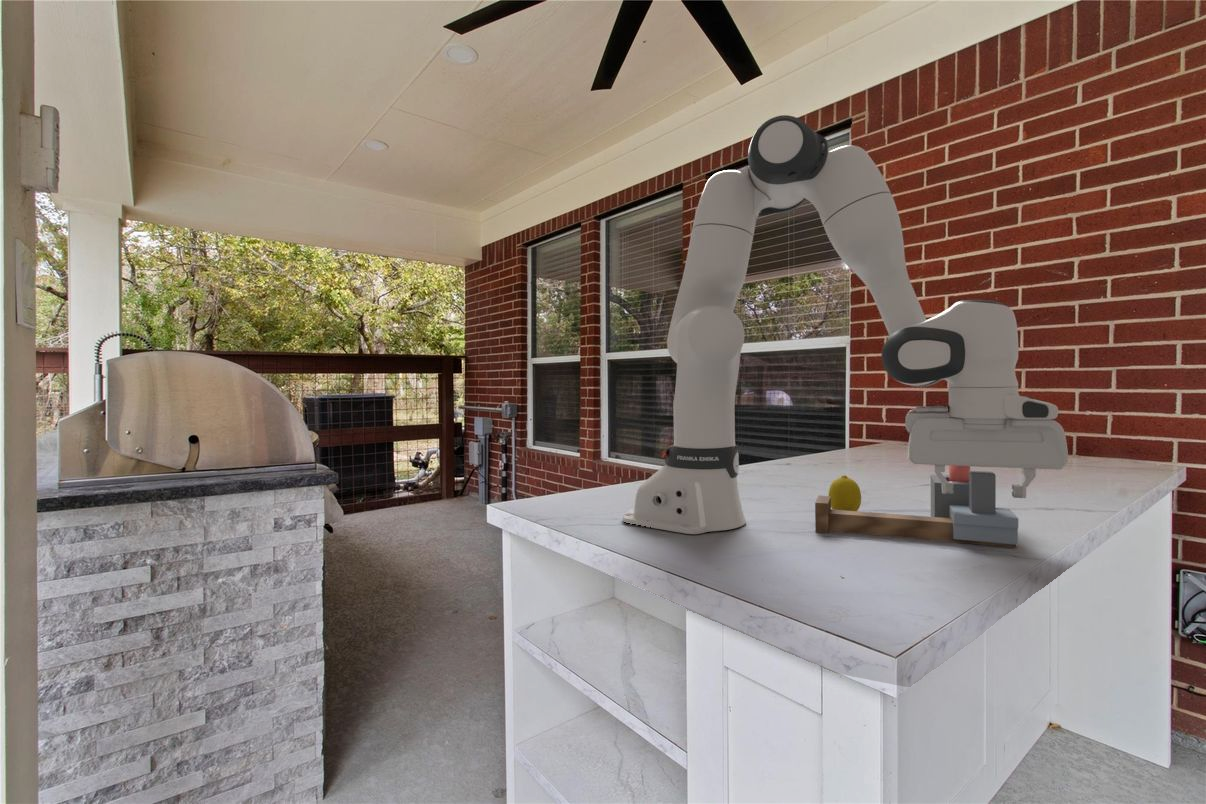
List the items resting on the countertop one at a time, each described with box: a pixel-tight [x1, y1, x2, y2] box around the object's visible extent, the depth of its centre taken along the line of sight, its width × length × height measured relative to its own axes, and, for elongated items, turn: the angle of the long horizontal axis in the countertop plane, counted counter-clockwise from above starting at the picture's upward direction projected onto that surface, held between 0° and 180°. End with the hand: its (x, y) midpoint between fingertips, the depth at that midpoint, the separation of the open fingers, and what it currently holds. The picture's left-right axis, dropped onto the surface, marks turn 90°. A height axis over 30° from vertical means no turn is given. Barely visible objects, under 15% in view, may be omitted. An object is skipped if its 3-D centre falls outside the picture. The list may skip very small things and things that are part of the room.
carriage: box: [949, 470, 1019, 546], centre depth 86 cm, size 8×6×10 cm
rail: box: [814, 495, 1017, 548], centre depth 90 cm, size 28×6×5 cm, turn 63°
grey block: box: [930, 474, 969, 518], centre depth 95 cm, size 8×8×8 cm
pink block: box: [948, 465, 971, 482], centre depth 95 cm, size 3×3×6 cm
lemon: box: [828, 475, 862, 511], centre depth 102 cm, size 6×6×8 cm
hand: (982, 495), depth 86 cm, fingers open, 8 cm apart
